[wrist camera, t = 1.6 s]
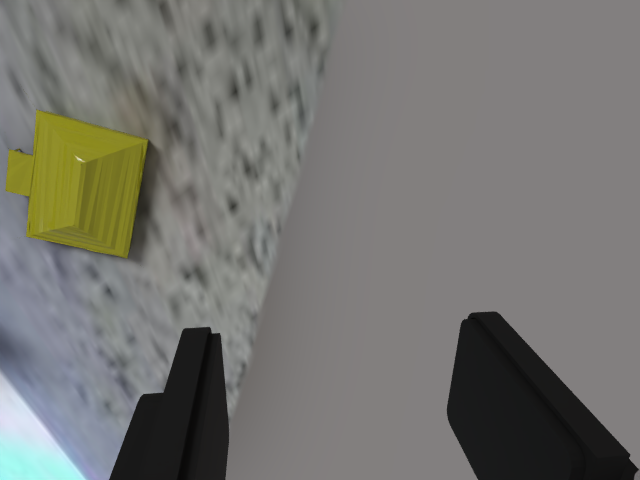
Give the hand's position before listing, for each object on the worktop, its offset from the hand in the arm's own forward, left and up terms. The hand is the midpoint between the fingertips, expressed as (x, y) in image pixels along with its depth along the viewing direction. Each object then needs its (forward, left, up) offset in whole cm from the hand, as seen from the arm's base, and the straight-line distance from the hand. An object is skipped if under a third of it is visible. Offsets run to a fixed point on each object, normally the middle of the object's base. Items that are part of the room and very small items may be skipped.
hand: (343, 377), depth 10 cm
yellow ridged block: (0, -12, -18) cm, 22 cm away
